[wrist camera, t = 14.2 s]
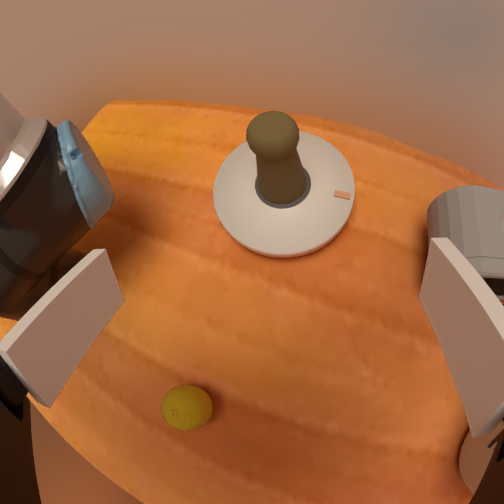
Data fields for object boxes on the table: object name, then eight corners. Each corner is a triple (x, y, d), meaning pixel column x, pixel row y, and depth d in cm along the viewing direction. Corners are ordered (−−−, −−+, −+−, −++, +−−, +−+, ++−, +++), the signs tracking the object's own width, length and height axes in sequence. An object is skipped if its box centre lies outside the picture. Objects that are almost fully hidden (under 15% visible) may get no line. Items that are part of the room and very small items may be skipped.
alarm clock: (413, 295, 32) (462, 267, 20) (414, 225, 35) (452, 172, 22) (523, 303, 28) (581, 282, 15) (520, 243, 30) (569, 207, 18)
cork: (255, 168, 37) (235, 109, 27) (300, 159, 36) (295, 97, 26) (261, 208, 35) (242, 154, 25) (311, 199, 34) (309, 141, 24)
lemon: (196, 428, 32) (169, 445, 25) (172, 394, 34) (140, 403, 26) (229, 408, 32) (208, 423, 25) (203, 373, 34) (177, 379, 27)
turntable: (199, 240, 38) (192, 233, 36) (241, 132, 42) (237, 122, 40) (338, 273, 33) (340, 268, 31) (360, 151, 37) (362, 141, 35)
